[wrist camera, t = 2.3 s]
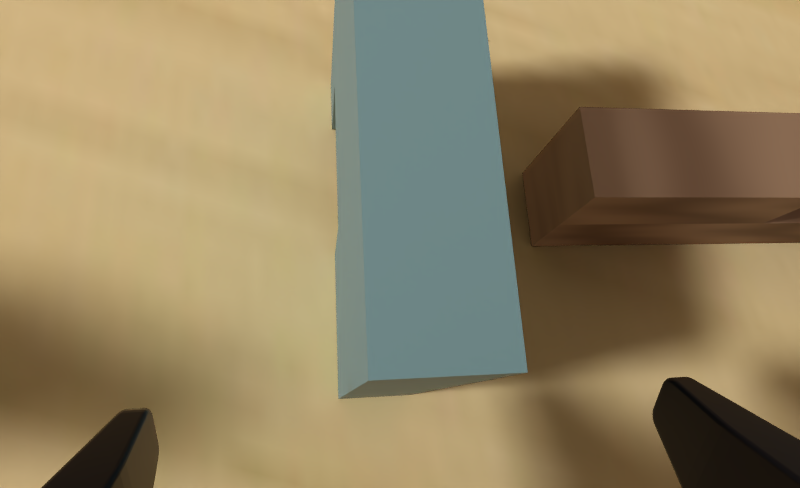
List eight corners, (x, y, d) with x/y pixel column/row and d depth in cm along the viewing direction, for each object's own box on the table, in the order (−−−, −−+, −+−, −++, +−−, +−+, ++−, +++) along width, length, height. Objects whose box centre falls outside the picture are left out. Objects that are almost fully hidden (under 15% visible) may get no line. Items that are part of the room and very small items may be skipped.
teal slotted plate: (409, 394, 19) (527, 373, 8) (338, 398, 18) (368, 380, 8) (391, 85, 22) (458, -206, 12) (330, 83, 22) (345, -219, 11)
